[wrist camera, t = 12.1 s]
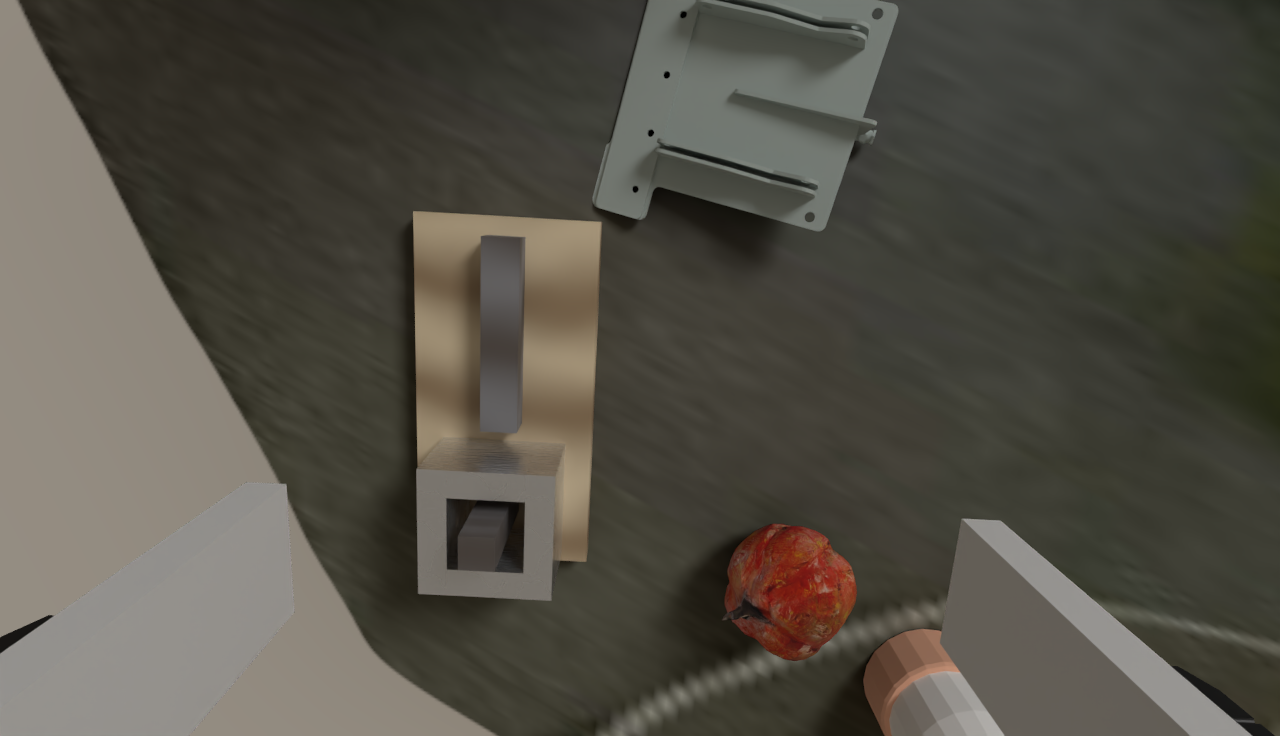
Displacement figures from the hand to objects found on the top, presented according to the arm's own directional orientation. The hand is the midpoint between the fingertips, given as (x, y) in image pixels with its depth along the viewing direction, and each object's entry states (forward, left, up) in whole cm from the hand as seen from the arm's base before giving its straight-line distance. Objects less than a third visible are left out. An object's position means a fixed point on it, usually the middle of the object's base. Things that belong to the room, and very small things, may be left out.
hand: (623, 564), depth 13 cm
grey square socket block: (+10, -7, -25) cm, 28 cm away
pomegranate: (+14, +10, -27) cm, 32 cm away
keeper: (+4, -7, -27) cm, 28 cm away
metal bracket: (-13, +5, -27) cm, 31 cm away
